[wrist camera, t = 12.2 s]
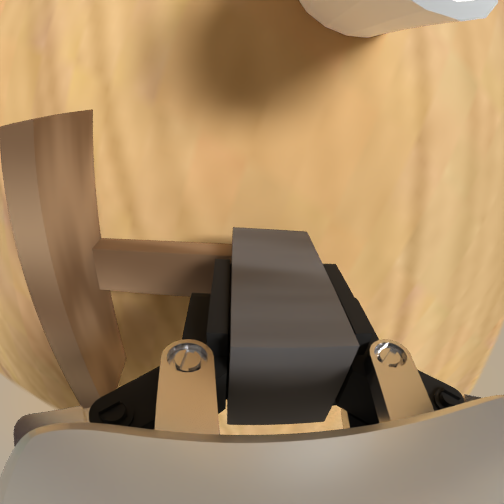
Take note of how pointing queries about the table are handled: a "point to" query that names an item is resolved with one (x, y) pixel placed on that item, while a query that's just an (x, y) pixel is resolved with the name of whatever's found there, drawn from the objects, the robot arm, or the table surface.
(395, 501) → the robot arm
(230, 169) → the table surface
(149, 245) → the wall doorstop
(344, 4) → the shot glass
